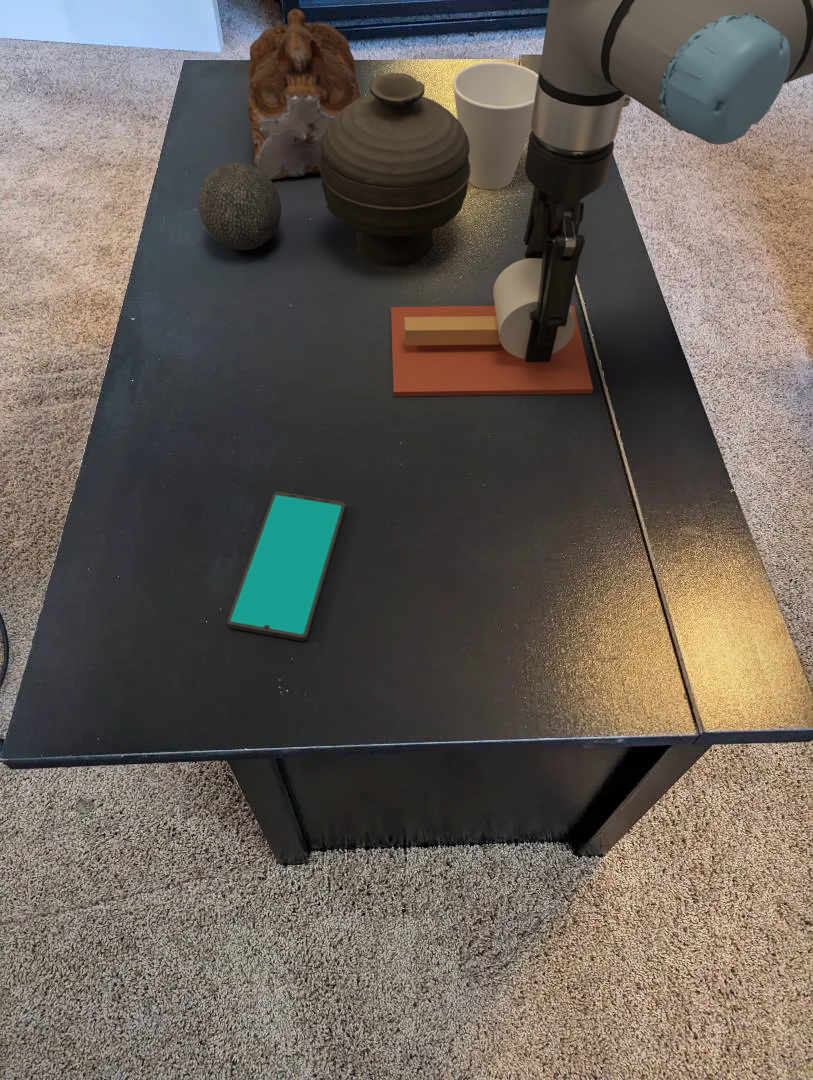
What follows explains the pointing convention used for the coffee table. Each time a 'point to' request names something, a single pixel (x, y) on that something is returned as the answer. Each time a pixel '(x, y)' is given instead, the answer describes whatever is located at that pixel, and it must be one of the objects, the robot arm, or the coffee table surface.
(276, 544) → the smartphone
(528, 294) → the mallet
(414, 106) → the pot
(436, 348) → the mat
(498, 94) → the cup
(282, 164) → the sculpture
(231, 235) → the decorative ball
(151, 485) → the coffee table surface
